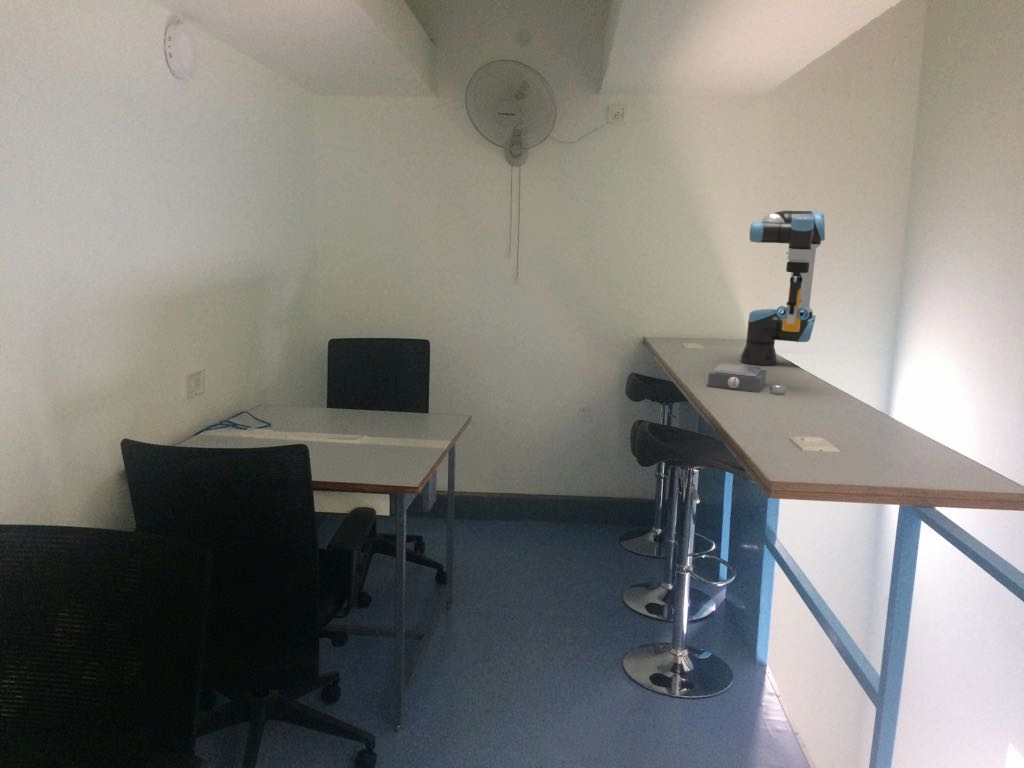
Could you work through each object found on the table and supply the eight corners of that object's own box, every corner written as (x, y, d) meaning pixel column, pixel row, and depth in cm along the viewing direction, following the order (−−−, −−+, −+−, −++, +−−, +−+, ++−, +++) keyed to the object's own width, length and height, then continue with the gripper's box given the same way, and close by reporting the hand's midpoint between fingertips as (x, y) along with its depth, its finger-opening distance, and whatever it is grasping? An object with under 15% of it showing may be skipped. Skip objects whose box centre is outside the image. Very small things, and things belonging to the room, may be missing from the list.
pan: (719, 375, 287) (721, 363, 286) (760, 380, 281) (762, 367, 280) (712, 382, 274) (714, 369, 272) (755, 387, 267) (756, 373, 266)
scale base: (716, 378, 289) (717, 365, 288) (764, 383, 282) (766, 370, 281) (707, 386, 272) (708, 373, 271) (758, 392, 265) (760, 379, 264)
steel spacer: (770, 391, 268) (771, 383, 268) (785, 393, 266) (786, 385, 266) (769, 394, 264) (769, 385, 263) (784, 395, 262) (784, 387, 261)
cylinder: (809, 333, 265) (813, 291, 262) (778, 332, 267) (782, 290, 264) (802, 329, 277) (807, 288, 274) (773, 327, 279) (777, 287, 276)
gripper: (789, 259, 279) (783, 317, 284) (784, 261, 258) (777, 324, 262) (811, 260, 276) (804, 319, 281) (807, 263, 255) (800, 326, 259)
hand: (791, 321), depth 271 cm, fingers closed on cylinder, 12 cm apart
